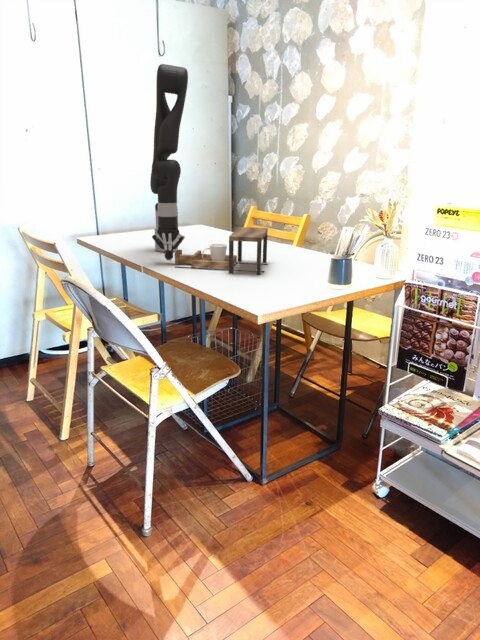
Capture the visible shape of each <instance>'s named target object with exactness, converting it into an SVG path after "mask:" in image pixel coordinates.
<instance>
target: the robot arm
mask: <svg viewBox="0 0 480 640" xmlns="http://www.w3.org/2000/svg"><path fill="white" fill-rule="evenodd" d="M188 81H189V72H188V70H187V68H186V67H183V66H177V65H171V64H165V63H160V64H159V65H158V67H157V70H156V86H155V87H156V89H155V90H156V95H155V97H156V101H155V102H156V105H155V107H156V108H155V120H154V121H155V122H154V128H153V129H154V134H153V155H152V156H153V158H152V164H151V171H150V172H151V173H150V185H149V186H150V191H151V193H152V194H154V195H157V202H156V203H155V204H154V211H155V212H154V213H155V228H154V234H153V235H152V236H151V238H152V239H153V241H154V248H155V249H154V250H155V251H156V252H160V253H164V258H165V259H166V261H172V259H173V258H174V253H175V252H176V251H178V250H179V246H180V244H182V242H183V241H184V240H185V238H186V237H185V236H184V235H182V234H181V232H180V230H179V219H178V217H179V216H178V214H179V212H178V210H179V209H178V186H179V181H180V178H181V172H182V170H181V169H182V168H181V165H180V163H179V161H178V160H175V159H169V157H170V156H172V154H173V155H174V154H177V152H178V150H179V139H180V128H181V123H182V119H183V113H184V107H185V102H186V99H187V98H186V96H187V93H188V92H187V90H188V83H189V82H188ZM166 94H172V95H176V96H177V97H176V100H175V103H174V105H173V107H172V108H171V109H170V107H169V104H168V100H167V96H166Z"/></svg>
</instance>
